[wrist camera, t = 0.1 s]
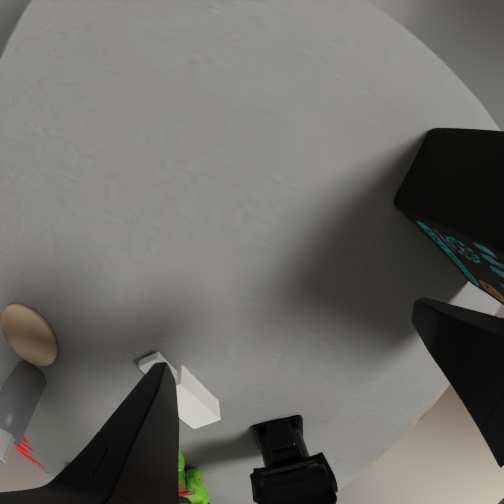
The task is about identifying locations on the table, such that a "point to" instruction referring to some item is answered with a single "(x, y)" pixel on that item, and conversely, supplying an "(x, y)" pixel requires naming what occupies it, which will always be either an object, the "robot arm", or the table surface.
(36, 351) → the cork coaster
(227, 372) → the table surface
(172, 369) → the small lying plug
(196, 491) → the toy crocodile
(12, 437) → the grey plug
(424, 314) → the robot arm
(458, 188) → the battery
